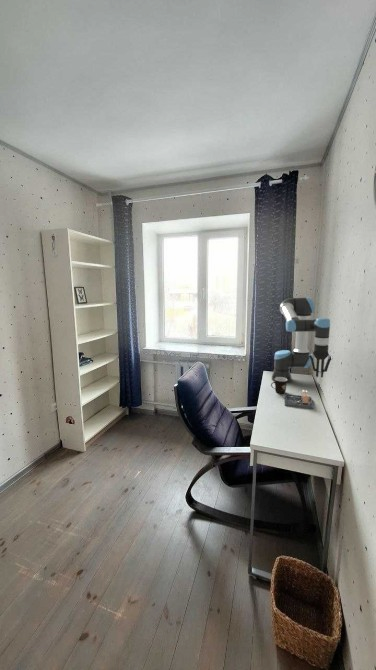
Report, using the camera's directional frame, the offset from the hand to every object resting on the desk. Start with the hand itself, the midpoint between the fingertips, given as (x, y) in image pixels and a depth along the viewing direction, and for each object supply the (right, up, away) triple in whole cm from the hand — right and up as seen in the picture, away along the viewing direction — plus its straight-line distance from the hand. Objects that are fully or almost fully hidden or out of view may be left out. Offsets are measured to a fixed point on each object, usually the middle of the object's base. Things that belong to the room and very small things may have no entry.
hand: (319, 382), depth 165 cm
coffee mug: (-16, -12, +27) cm, 34 cm away
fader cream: (-4, -12, +12) cm, 18 cm away
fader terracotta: (-6, -14, +5) cm, 16 cm away
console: (-8, -15, +11) cm, 20 cm away
